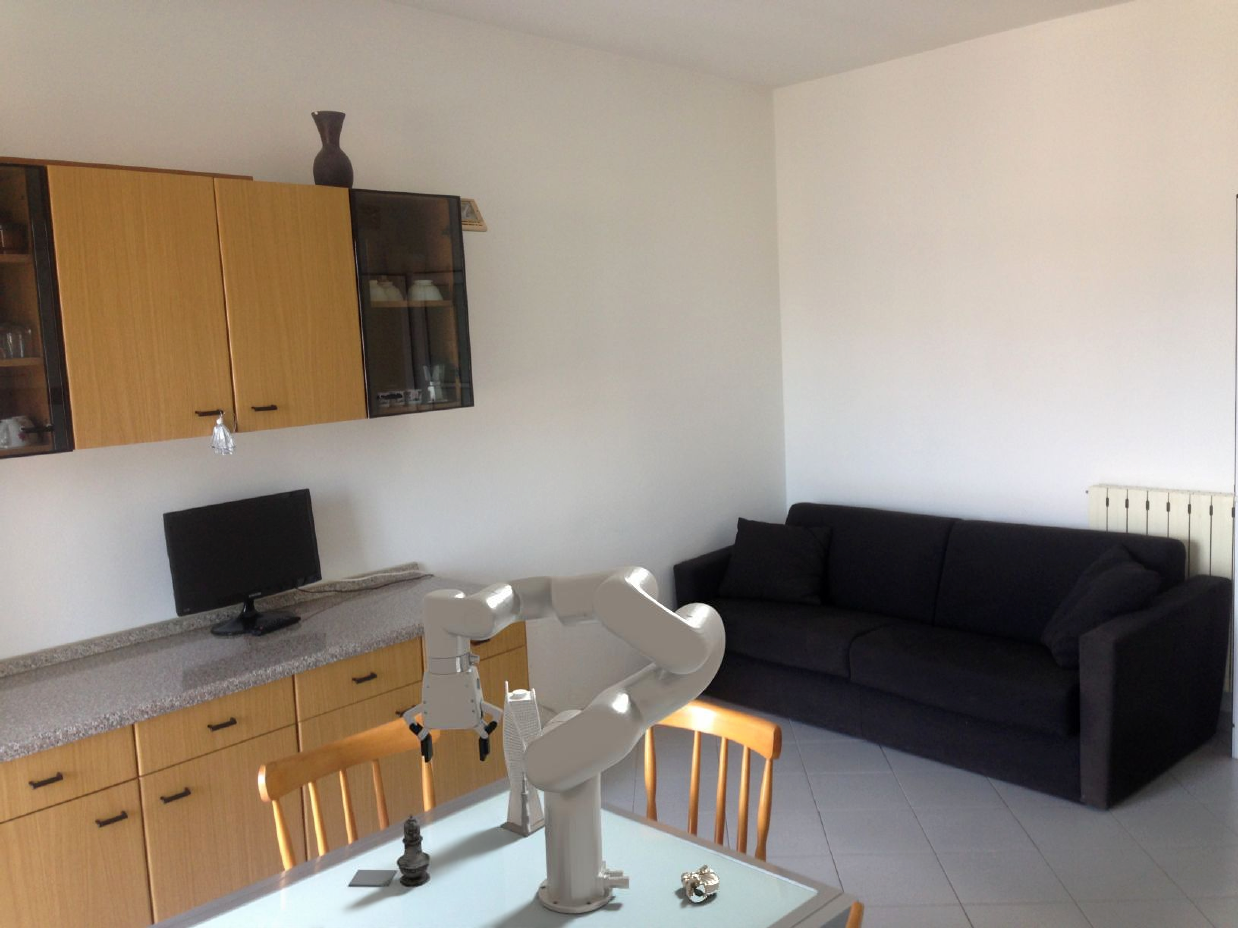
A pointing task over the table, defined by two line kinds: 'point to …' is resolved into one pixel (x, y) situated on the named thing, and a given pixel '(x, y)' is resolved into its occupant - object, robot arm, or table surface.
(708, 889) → the ornament
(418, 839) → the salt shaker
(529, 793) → the skyscraper
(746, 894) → the table surface
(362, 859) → the table surface
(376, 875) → the grey flat slab
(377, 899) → the table surface
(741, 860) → the table surface
